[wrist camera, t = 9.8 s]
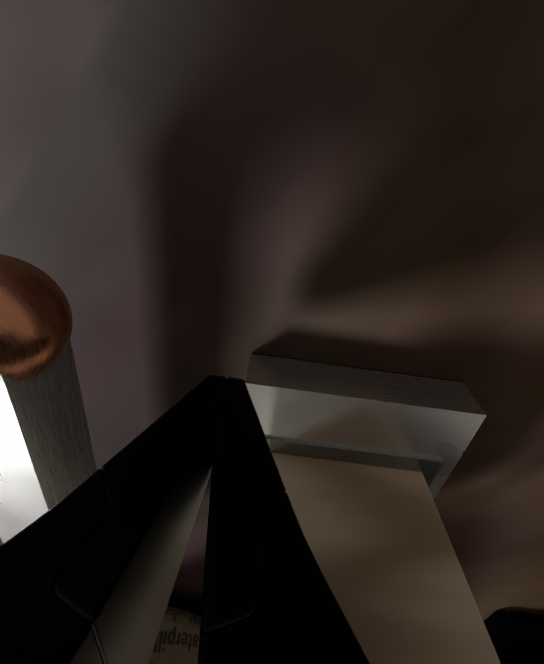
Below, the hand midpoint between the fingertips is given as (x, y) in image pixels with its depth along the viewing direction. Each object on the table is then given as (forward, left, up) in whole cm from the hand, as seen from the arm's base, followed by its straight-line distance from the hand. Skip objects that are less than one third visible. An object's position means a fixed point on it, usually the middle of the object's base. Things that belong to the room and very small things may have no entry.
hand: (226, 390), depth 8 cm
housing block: (-4, +6, -1) cm, 7 cm away
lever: (+4, +4, 0) cm, 6 cm away
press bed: (-4, +5, -2) cm, 7 cm away
